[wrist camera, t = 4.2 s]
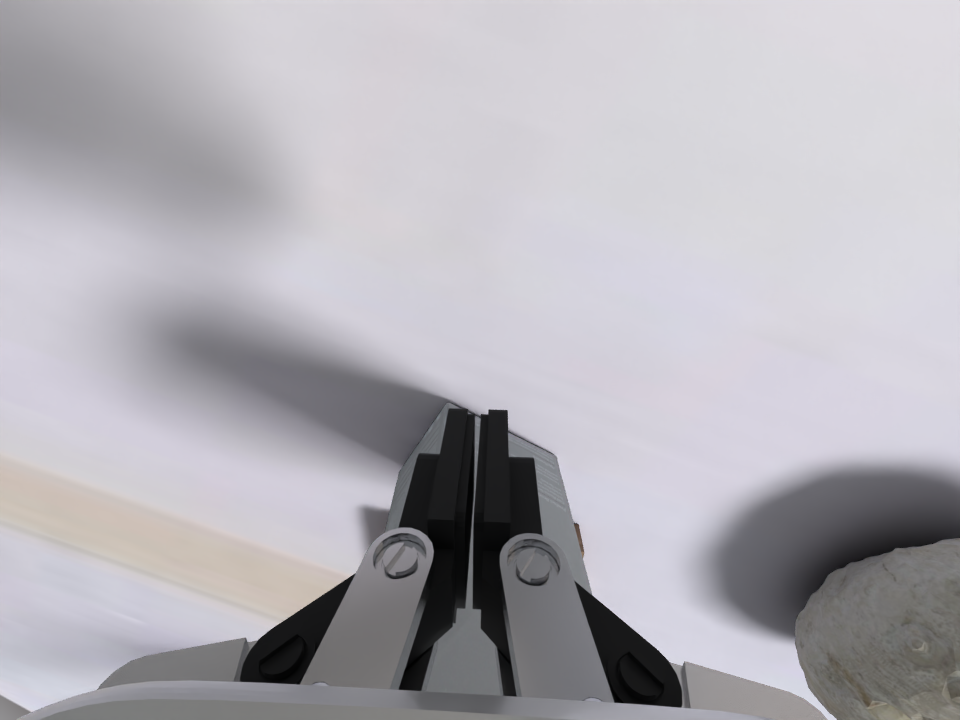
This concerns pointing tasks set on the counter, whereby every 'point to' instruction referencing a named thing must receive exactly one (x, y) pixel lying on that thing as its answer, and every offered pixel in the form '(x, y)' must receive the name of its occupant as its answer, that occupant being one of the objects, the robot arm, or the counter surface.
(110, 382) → the counter surface
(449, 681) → the skincare box
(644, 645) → the robot arm
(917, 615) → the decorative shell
